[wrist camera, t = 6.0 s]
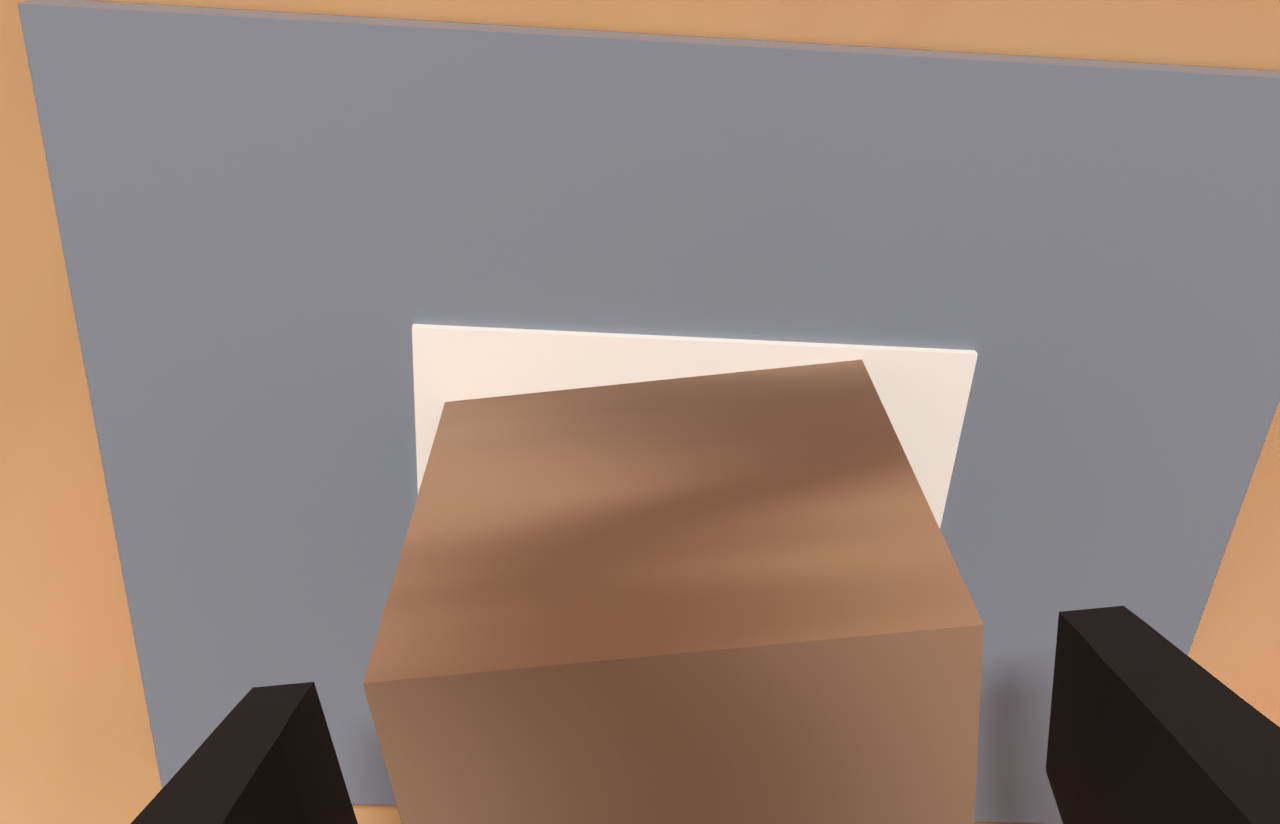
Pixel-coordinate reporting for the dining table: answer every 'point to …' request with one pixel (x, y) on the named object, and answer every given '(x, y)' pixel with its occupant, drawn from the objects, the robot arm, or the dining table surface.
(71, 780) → the dining table surface
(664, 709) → the walnut block
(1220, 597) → the dining table surface
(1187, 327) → the board
